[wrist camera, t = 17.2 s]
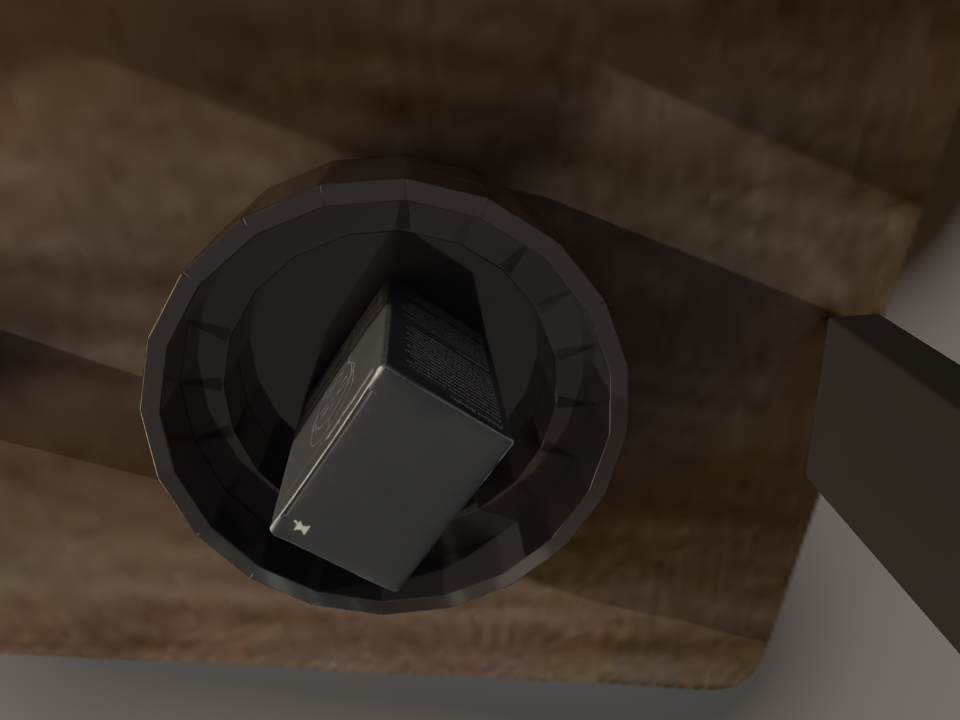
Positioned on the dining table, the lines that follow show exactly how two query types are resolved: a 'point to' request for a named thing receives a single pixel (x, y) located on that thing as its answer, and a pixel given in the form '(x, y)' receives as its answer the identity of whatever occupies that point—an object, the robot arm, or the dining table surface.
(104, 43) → the dining table surface
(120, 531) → the dining table surface
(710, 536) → the dining table surface
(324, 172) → the bowl
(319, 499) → the box
